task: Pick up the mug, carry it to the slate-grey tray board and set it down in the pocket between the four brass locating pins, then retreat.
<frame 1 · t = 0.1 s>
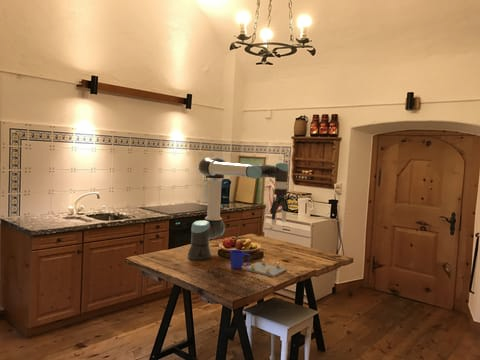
hand: (278, 223, 244), 28 cm above the table, fingers open, 13 cm apart
tray: (265, 270, 241), on the table
mug: (239, 268, 243), on the table
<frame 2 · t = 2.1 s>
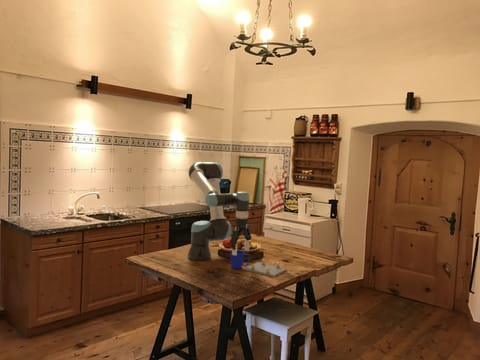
hand: (240, 252, 242), 10 cm above the table, fingers open, 13 cm apart
nothing on the table moved.
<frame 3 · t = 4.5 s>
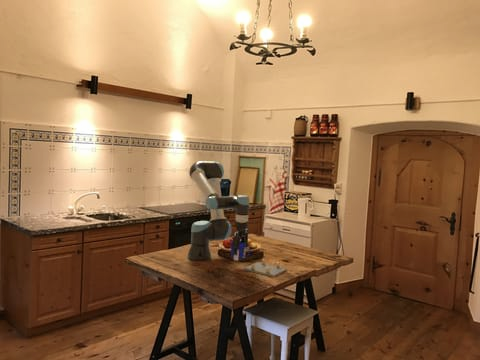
hand: (239, 258, 243), 6 cm above the table, fingers closed on mug, 7 cm apart
mug: (239, 259, 243), point 5 cm above the table, touching gripper
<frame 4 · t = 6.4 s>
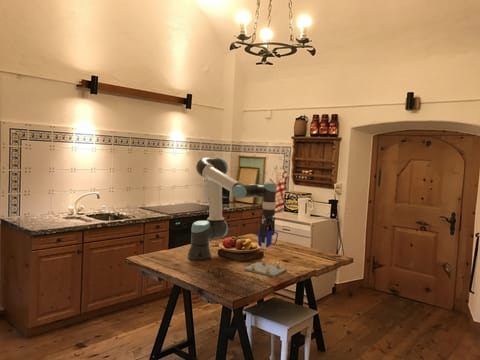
hand: (266, 246, 240), 14 cm above the table, fingers closed on mug, 7 cm apart
mug: (267, 247, 241), point 14 cm above the table, touching gripper
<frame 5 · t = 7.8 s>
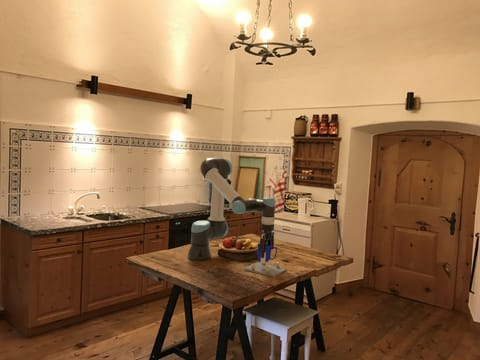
hand: (266, 261, 241), 5 cm above the table, fingers closed on mug, 7 cm apart
mug: (266, 261, 241), point 5 cm above the table, touching gripper
when the fingers open (2 cm above the table, at t = 8.8 s): mug stays where it is, resting on tray.
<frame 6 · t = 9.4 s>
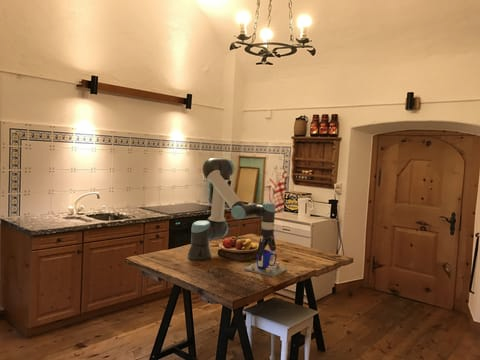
hand: (265, 263, 241), 4 cm above the table, fingers open, 13 cm apart
mug: (265, 268, 242), point 1 cm above the table, touching tray
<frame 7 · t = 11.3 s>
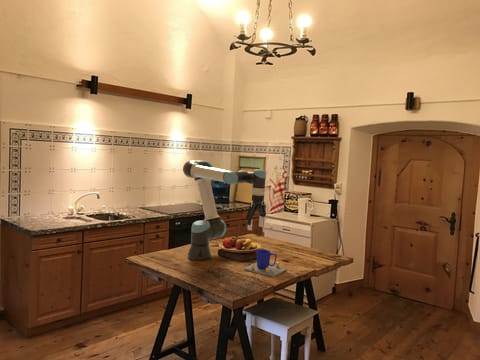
hand: (255, 228, 250), 23 cm above the table, fingers open, 13 cm apart
nothing on the table moved.
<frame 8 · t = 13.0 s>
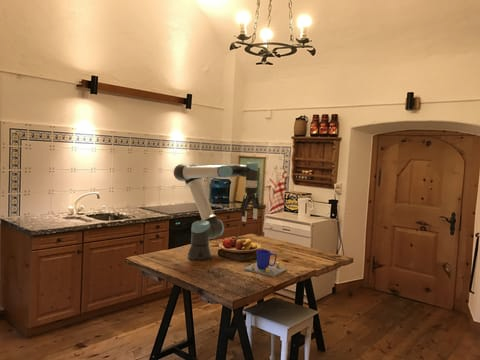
hand: (249, 220, 256), 27 cm above the table, fingers open, 13 cm apart
nothing on the table moved.
at the end: mug inside the target area on the tray (0.7 cm from its centre), point 1.0 cm above the tray's base; mug tilted 0°; the gripper is holding nothing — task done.
